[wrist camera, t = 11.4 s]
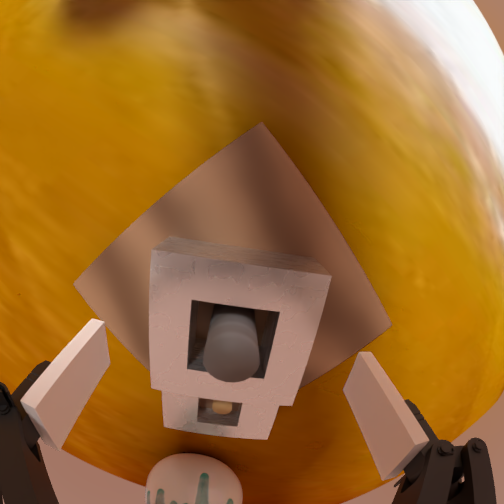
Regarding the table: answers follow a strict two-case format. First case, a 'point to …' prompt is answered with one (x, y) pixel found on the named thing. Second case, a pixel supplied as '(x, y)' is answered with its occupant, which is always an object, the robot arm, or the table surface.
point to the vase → (192, 481)
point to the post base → (242, 235)
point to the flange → (192, 349)
